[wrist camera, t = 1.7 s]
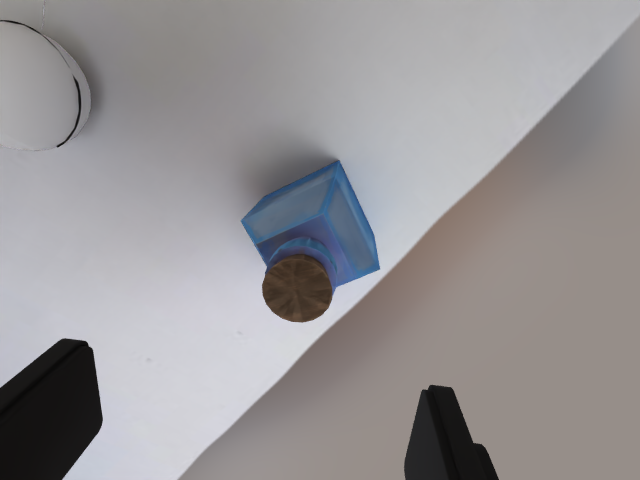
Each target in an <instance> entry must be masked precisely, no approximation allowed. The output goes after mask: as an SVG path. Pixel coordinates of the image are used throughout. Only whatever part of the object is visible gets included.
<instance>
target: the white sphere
mask: <svg viewBox="0 0 640 480" xmlns="http://www.w3.org/2000/svg"><path fill="white" fill-rule="evenodd" d="M44 10H45V0H44V6H43V22H42V30H43V24H44ZM90 109H91V92H90V89H89V86H88V83H87V79H86V77H85V75H84V74H83V72H82V70H81V69H80V67H79V65H78V64H77V62H76V61H75V60H74V59H73V58H72V57H71V56H70V55H69V54H68V53H67V52H66V51H65V50H64V49H63V48H62V47H61V46H60V45H59V44H58V43H57V42H56V41H54V40H52V39H50V38H49V37H47V36H45V35H43V34H41V33H40V32H38V31H36V30H35V29H33V28H31V27H29V26H27V25H25V24H22V23H18V22H14V21H8V20H0V146H3V147H7V148H12V149H17V150H27V151H39V150H46V149H52V148H55V147H60V146H61V145H63V144H64V143H66V142H68V141H70V140H71V139H73V138H75V137H76V135H77V134H78V133H79V131H80V130H81V129H82V127H83V126H84V125H85V123H86V121H87V120H88V116H89V113H90Z"/></svg>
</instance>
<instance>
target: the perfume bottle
mask: <svg viewBox="0 0 640 480" xmlns="http://www.w3.org/2000/svg"><path fill="white" fill-rule="evenodd" d="M241 222H242V224H243V226H244V228H245V229H246V231H247V233H248V234H249V236H250V238H251V240H252V241H253V243H254V245H255V247H256V248H257V250H258V252H259V254H260V255H261V257H262V259H263V261H264V262H265V264H266V266H267V269H266V272H265V278H264V281H263V284H262V290H263V297H264V299H265V302H266V304H267V306H268V307H269V308H270V309H271V310H272V312H273V313H275V314H276V315H278V316H279V317H281V318H282V319H285V320H288V321H291V322H307V321H311V320H314V319H316V318H318V317H319V316H321V315H322V314H323V313H324V312H325V311H326V310H327V309H328V308H329V305H330V303H331V300H332V296H333V294H334V291H335V289H336V287H338V286H340V285H343V284H345V283H348V282H350V281H353V280H355V279H358V278H360V277H363V276H365V275H367V274H370V273H372V272H375V271H377V270H380V266H379V260H378V254H377V249H376V243H375V237H374V234H373V232H372V229H371V227H370V225H369V223H368V221H367V219H366V217H365V214H364V212H363V210H362V208H361V206H360V204H359V202H358V199H357V197H356V195H355V193H354V191H353V189H352V186H351V184H350V182H349V180H348V178H347V176H346V174H345V171H344V169H343V167H342V165H341V163H340V161H337V162H335V163H333V164H331V165H328V166H326V167H324V168H322V169H320V170H318V171H316V172H314V173H312V174H310V175H308V176H306V177H304V178H302V179H300V180H297V181H295V182H293V183H291V184H289V185H287V186H285V187H283V188H281V189H279V190H277V191H275V192H273V193H271V194H269V195H266V196H264V197H263V198H262V199H261V200H260V201H259V202H258V204H257V205H256V206H255V207H254V208H253V209H252V210H251V211H250V212H249V213H248V214H247V215H246V216H245V217H244V218H243V219H242V220H241Z"/></svg>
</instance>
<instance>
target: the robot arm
mask: <svg viewBox="0 0 640 480" xmlns="http://www.w3.org/2000/svg"><path fill="white" fill-rule="evenodd" d="M102 421H103V417H102V410H101V403H100V396H99V389H98V382H97V375H96V368H95V361H94V354H93V349H92V348H91V347H89V346H88V343H87V342H86V341H82V340H74V339H66V338H65V339H61V340H60V341H58V342H57V343H56V344H54V345H53V346H52V347H51V348H49V349H48V350H47V351H46V352H44V353H43V354H42V355H41V356H39V357H38V358H37V359H36V360H34V361H33V362H32V363H31V364H29V365H28V366H27V367H26V368H24V369H23V370H22V371H21V372H19V373H18V374H17V375H16V376H14V377H13V378H12V379H11V380H10V381H8V382H7V383H6V384H5V385H3V386H2V387H1V388H0V480H62V479H63V478H64V476H65V475H66V474H67V473H68V471H69V470H70V469H71V467H72V466H73V465H74V463H75V462H76V461H77V460H78V458H79V457H80V456H81V454H82V453H83V452H84V450H85V449H86V448H87V447H88V445H89V444H90V443H91V441H92V440H93V439H94V437H95V436H96V435H97V434H98V432H99V430H100V428H101V426H102ZM404 471H405V478H406V480H499V479H498V476H497V474H496V471H495V469H494V467H493V464H492V462H491V459H490V457H489V454H488V452H487V450H486V448H485V447H484V446H483V445H482V444H476V443H473V441H472V438H471V435H470V433H469V430H468V427H467V425H466V422H465V419H464V417H463V414H462V412H461V409H460V406H459V404H458V401H457V399H456V396H455V393H454V391H453V389H452V388H451V387H444V386H436V385H430V386H429V388H428V390H422V392H421V395H420V399H419V404H418V407H417V412H416V416H415V420H414V424H413V429H412V432H411V437H410V441H409V445H408V449H407V453H406V457H405V465H404Z"/></svg>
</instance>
